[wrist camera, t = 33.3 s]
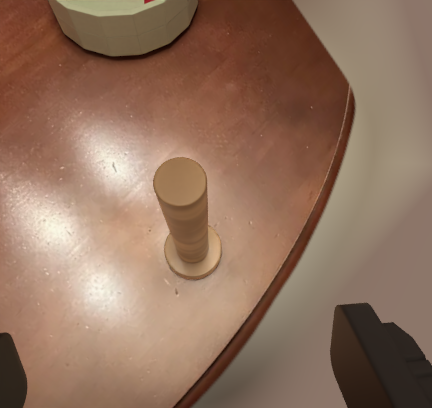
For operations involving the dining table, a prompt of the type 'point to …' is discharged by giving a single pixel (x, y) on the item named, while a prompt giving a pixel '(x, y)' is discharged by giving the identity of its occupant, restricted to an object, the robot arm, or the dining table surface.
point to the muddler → (187, 218)
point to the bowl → (123, 23)
